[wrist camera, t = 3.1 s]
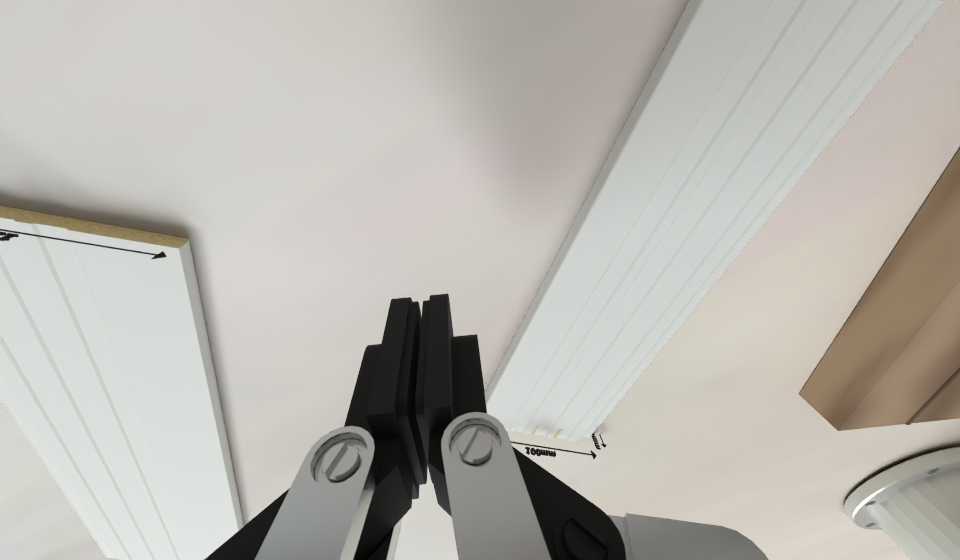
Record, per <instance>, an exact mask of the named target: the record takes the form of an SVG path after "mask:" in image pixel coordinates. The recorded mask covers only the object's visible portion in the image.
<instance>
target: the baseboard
mask: <svg viewBox="0 0 960 560" xmlns="http://www.w3.org/2000/svg"><path fill="white" fill-rule="evenodd" d="M943 2H944V0H689V2H688V4H687V6H686V8H685V9H684V11H683V13H682V15H681V17H680V19H679V21H678V23H677V25H676V27H675V29H674V31H673V33H672V34H671V36H670V38H669V40H668V42H667V44H666V46H665V48H664V50H663V52H662V54H661V56H660V58H659V59H658V61H657V63H656V65H655V67H654V69H653V71H652V73H651V75H650V77H649V79H648V81H647V83H646V84H645V86H644V88H643V90H642V92H641V94H640V96H639V98H638V100H637V102H636V104H635V106H634V108H633V109H632V111H631V113H630V115H629V117H628V119H627V121H626V123H625V125H624V127H623V129H622V131H621V133H620V134H619V136H618V138H617V140H616V142H615V144H614V146H613V148H612V150H611V152H610V154H609V156H608V158H607V159H606V161H605V163H604V165H603V167H602V169H601V171H600V173H599V175H598V177H597V179H596V181H595V183H594V184H593V186H592V188H591V190H590V192H589V194H588V196H587V198H586V200H585V202H584V204H583V206H582V208H581V209H580V211H579V213H578V215H577V217H576V219H575V221H574V223H573V225H572V227H571V229H570V231H569V233H568V234H567V236H566V238H565V240H564V242H563V244H562V246H561V248H560V250H559V252H558V254H557V256H556V258H555V259H554V261H553V263H552V265H551V267H550V269H549V271H548V273H547V275H546V277H545V279H544V281H543V283H542V284H541V286H540V288H539V290H538V292H537V294H536V296H535V298H534V300H533V302H532V304H531V306H530V308H529V309H528V311H527V313H526V315H525V317H524V319H523V321H522V323H521V325H520V327H519V329H518V331H517V333H516V335H515V336H514V338H513V340H512V342H511V344H510V346H509V348H508V350H507V352H506V354H505V356H504V358H503V360H502V361H501V363H500V365H499V367H498V369H497V371H496V373H495V375H494V377H493V379H492V381H491V383H490V385H489V386H488V388H487V390H486V392H485V401H486V409H487V414H489V415H491V416H493V417H495V418H497V419H498V420H499V421H500V422H501V423H502V424H503V426H504V428H505V429H506V431H508V430H511V431H517V432H522V433H523V434H528V435H530V434H535V435H541V436H545V437H547V438H559V439H565V440H567V441H571V442H578V441H579V439H580V438H581V437H590V436H592V438H593V437H596V436H594V435H595V434H593V433H594V431H595V430H596V429H597V428H598V426H599V425H600V424H601V423H602V421H603V420H604V419H605V418H606V417H607V415H608V414H609V413H610V412H611V410H612V409H613V408H614V407H615V405H616V404H617V403H618V402H619V400H620V399H621V398H622V397H623V396H624V394H625V393H626V392H627V391H628V389H629V388H630V387H631V386H632V384H633V383H634V382H635V381H636V380H637V378H638V377H639V376H640V375H641V373H642V372H643V371H644V370H645V368H646V367H647V366H648V365H649V364H650V362H651V361H652V360H653V359H654V357H655V356H656V355H657V354H658V352H659V351H660V350H661V349H662V348H663V346H664V345H665V344H666V343H667V341H668V340H669V339H670V338H671V336H672V335H673V334H674V333H675V332H676V330H677V329H678V328H679V327H680V325H681V324H682V323H683V322H684V320H685V319H686V318H687V317H688V316H689V314H690V313H691V312H692V311H693V309H694V308H695V307H696V306H697V304H698V303H699V302H700V301H701V300H702V298H703V297H704V296H705V295H706V293H707V292H708V291H709V290H710V288H711V287H712V286H713V285H714V284H715V282H716V281H717V280H718V279H719V277H720V276H721V275H722V274H723V272H724V271H725V270H726V269H727V268H728V266H729V265H730V264H731V263H732V261H733V260H734V259H735V258H736V256H737V255H738V254H739V253H740V252H741V250H742V249H743V248H744V247H745V245H746V244H747V243H748V242H749V240H750V239H751V238H752V237H753V236H754V234H755V233H756V232H757V231H758V229H759V228H760V227H761V226H762V224H763V223H764V222H765V221H766V220H767V218H768V217H769V216H770V215H771V213H772V212H773V211H774V210H775V208H776V207H777V206H778V205H779V204H780V202H781V201H782V200H783V199H784V197H785V196H786V195H787V194H788V192H789V191H790V190H791V189H792V188H793V186H794V185H795V184H796V183H797V181H798V180H799V179H800V178H801V176H802V175H803V174H804V173H805V171H806V170H807V169H808V168H809V167H810V165H811V164H812V163H813V162H814V160H815V159H816V158H817V157H818V155H819V154H820V153H821V152H822V151H823V149H824V148H825V147H826V146H827V144H828V143H829V142H830V141H831V139H832V138H833V137H834V136H835V135H836V133H837V132H838V131H839V130H840V128H841V127H842V126H843V125H844V123H845V122H846V121H847V120H848V119H849V117H850V116H851V115H852V114H853V112H854V111H855V110H856V109H857V107H858V106H859V105H860V104H861V103H862V101H863V100H864V99H865V98H866V96H867V95H868V94H869V93H870V91H871V90H872V89H873V88H874V87H875V85H876V84H877V83H878V82H879V80H880V79H881V78H882V77H883V75H884V74H885V73H886V72H887V71H888V69H889V68H890V67H891V66H892V64H893V63H894V62H895V61H896V59H897V58H898V57H899V56H900V55H901V53H902V52H903V51H904V50H905V48H906V47H907V46H908V45H909V43H910V42H911V41H912V40H913V39H914V37H915V36H916V35H917V34H918V32H919V31H920V30H921V29H922V27H923V26H924V25H925V24H926V23H927V21H928V20H929V19H930V18H931V16H932V15H933V14H934V13H935V11H936V10H937V9H938V8H939V7H940V5H941V4H942V3H943ZM600 438H601V435H600ZM594 439H595V440H594ZM601 440H602V438H601ZM593 441H594V443H595V446H596V448H597V449H600V448H598V447H600V446H599V445H596V444H599V443H596V442H598V441H597V438H593ZM510 442H511V441H510ZM511 443H516V444H523V443H517V442H511ZM602 443H603V440H602ZM523 445H529V446H535V447H542V446H536V445H530V444H523ZM601 445H602V446H604V447H606V445H605V444H604V443H603V444H601ZM542 448H548V449H555V448H549V447H542ZM525 449H527V452H526V453H527V454H530V452H529V449H530V448H529V447H525ZM555 450H561V449H555ZM600 450H601V449H600ZM530 451H531V454H532V455H535V454H537V456H540V455H546V456H548V453H549V456H554V457H555V456H556V453H555V451H554V452H553V451H551V453H550V451H548V450H546V452H545V450H542V449H541V451H540V450H539V449H536V451H535V449H534V448H531V450H530ZM533 451H534V453H533ZM561 451H567V452H574V451H568V450H561ZM538 452H539V454H538ZM543 452H544V453H543ZM553 453H554V455H553ZM574 453H580V454H586V455H592V456H593V459H595V457H596V454H594V453H593V452H592V451H591V453H592V454H587V453H581V452H574Z"/></svg>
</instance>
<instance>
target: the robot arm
mask: <svg viewBox="0 0 960 560" xmlns="http://www.w3.org/2000/svg"><path fill="white" fill-rule="evenodd" d="M427 464H428V468H429V472H430V476H431V480H432V483H433V484H434V488H435V493H436V497H437V501H438V504H439V505H440V506H441V507H442V508H443V509H444V510H445V511H446V512H447V513H448V514H449V515H450V516H451V517H452V520H453V527H454V533H455V539H456V546H457V552H458V558H459V560H768V558H767V557H766V555H765V554H764V553H763V552H762V551H761V550H760V549H759V548H758V547H757V546H756V545H755V544H754V543H753V542H752V541H751V540H750V539H748V538H747V537H745V536H744V535H742V534H740V533H739V532H737V531H735V530H732V529H729V528H726V527H723V526H716V525H709V524H701V523H694V522H687V521H679V520H672V519H665V518H657V517H650V516H643V515H635V514H628V513H625V516H624V517H619V516H612V515H606V514H605V513H604V512H603V511H602V510H601V509H600V508H598V507H597V506H595V505H594V504H593V503H591V502H590V501H588V500H587V499H586V498H584V497H583V496H581V495H580V494H579V493H577V492H576V491H574V490H573V489H572V488H570V487H569V486H567V485H566V484H564V483H563V482H562V481H560V480H559V479H557V478H556V477H555V476H553V475H552V474H550V473H549V472H548V471H546V470H545V469H543V468H542V467H541V466H539V465H538V464H536V463H535V462H533V461H532V460H531V459H529V458H528V457H526V456H525V455H524V454H522V453H521V452H519V451H518V450H517V449H515V448H514V447H512V445H511V442H510V439H509V436H508V433H507V431H506V429H505V428H504V426H503V424H502V423H501V422H500V421H499V420H498V419H497V418H495V417H493V416H491V415H489V414H487V409H486V401H485V393H484V385H483V377H482V369H481V362H480V354H479V346H478V338H477V334H476V335H466V336H457V337H454V336H453V328H452V320H451V311H450V303H449V296H448V294H441V295H430V300H428V301H423V309H422V318H421V312H420V307H419V303H418V302H412V299H411V298H410V297H409V298H398V299H392V300H391V303H390V308H389V312H388V317H387V321H386V326H385V331H384V335H383V340H382V344H377V345H368V346H367V347H366V349H365V352H364V356H363V360H362V363H361V367H360V371H359V374H358V378H357V382H356V385H355V389H354V393H353V396H352V400H351V404H350V407H349V411H348V415H347V418H346V422H345V426H344V427H341V428H338V429H336V430H333V431H331V432H329V433H328V434H326V435H325V436H323V437H322V438H320V439H319V440H318V441H317V442H316V443H315V444H314V445H313V446H312V448H311V449H310V451H309V453H308V454H307V456H306V457H305V459H304V461H303V463H302V465H301V467H300V469H299V471H298V473H297V475H296V477H295V479H294V481H293V483H292V485H291V487H290V488H289V489H288V490H287V491H286V492H285V493H283V494H282V495H281V496H280V497H279V498H277V499H276V500H275V501H274V502H273V503H271V504H270V505H269V506H268V507H267V508H265V509H264V510H263V511H262V512H261V513H259V514H258V515H257V516H256V517H255V518H253V519H252V520H251V521H250V522H249V523H247V524H246V525H245V526H244V527H243V528H241V529H240V530H239V531H238V532H237V533H235V534H234V535H233V536H232V537H231V538H229V539H228V540H227V541H226V542H225V543H223V544H222V545H221V546H220V547H219V548H217V549H216V550H215V551H214V552H213V553H211V554H210V555H209V556H208V557H207V558H205V559H204V560H394V556H395V552H396V547H397V542H398V538H399V533H400V529H401V518H402V517H403V516H404V515H405V514H406V513H407V512H408V510H409V509H410V508H411V505H412V499H418V498H419V485H421V484H426V482H427ZM844 513H845V514H846V515H847V516H848V517H849V519H850V520H851V521H852V522H853V523H854V524H855V525H857V526H859V527H862V528H865V529H883V530H884V531H885V532H886V533H887V534H888V535H889V536H890V538H891V539H892V540H893V541H894V542H895V543H896V544H897V545H898V546H899V547H900V548H901V549H902V550H903V551H904V552H905V553H906V555H907V556H908V557H909V558H910V559H911V560H960V447H953V448H948V449H943V450H939V451H935V452H931V453H928V454H924V455H921V456H918V457H916V458H913V459H910V460H907V461H905V462H902V463H900V464H898V465H895V466H893V467H891V468H889V469H887V470H885V471H883V472H881V473H879V474H878V475H876V476H874V477H872V478H871V479H869V480H867V481H866V482H865V483H863V484H862V485H861V486H859V487H858V488H857V489H856V490H855V491H854V492H852V493H851V494H850V496H849V497H848V498H847V500H846V501H845V504H844Z"/></svg>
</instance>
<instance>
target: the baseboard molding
mask: <svg viewBox="0 0 960 560" xmlns="http://www.w3.org/2000/svg"><path fill="white" fill-rule="evenodd" d="M0 399H1V401H2V402H3V404H4V405H5V407H6V408H7V410H8V411H9V413H10V414H11V416H12V417H13V419H14V420H15V422H16V423H17V425H18V426H19V428H20V429H21V431H22V432H23V434H24V435H25V437H26V438H27V439H28V441H29V442H30V444H31V445H32V447H33V448H34V450H35V451H36V453H37V454H38V456H39V457H40V459H41V460H42V462H43V463H44V465H45V466H46V468H47V469H48V471H49V472H50V474H51V475H52V477H53V478H54V480H55V481H56V483H57V484H58V486H59V487H60V489H61V490H62V492H63V493H64V495H65V496H66V498H67V499H68V501H69V502H70V504H71V505H72V507H73V508H74V510H75V511H76V513H77V514H78V516H79V517H80V519H81V520H82V522H83V523H84V525H85V526H86V528H87V529H88V531H89V532H90V534H91V535H92V537H93V538H94V540H95V541H96V543H97V544H98V546H99V547H100V549H101V550H102V551H103V553H104V554H105V556H106V557H107V558H117V559H118V560H204V559H205V558H207V557H208V556H209V555H210V554H211V553H213V552H214V551H215V550H216V549H217V548H219V547H220V546H221V545H222V544H223V543H225V542H226V541H227V540H228V539H229V538H231V537H232V536H233V535H234V534H235V533H237V532H238V531H239V530H240V529H241V528H243V527H244V523H243V518H242V513H241V508H240V502H239V497H238V492H237V487H236V481H235V476H234V471H233V466H232V460H231V455H230V450H229V445H228V440H227V434H226V429H225V424H224V419H223V413H222V408H221V403H220V398H219V393H218V387H217V382H216V377H215V372H214V366H213V361H212V356H211V351H210V346H209V340H208V335H207V330H206V325H205V319H204V314H203V309H202V304H201V299H200V293H199V288H198V283H197V278H196V272H195V267H194V262H193V257H192V252H191V246H190V241H189V239H188V238H183V237H177V236H171V235H166V234H160V233H154V232H148V231H143V230H137V229H131V228H126V227H120V226H114V225H108V224H103V223H97V222H91V221H86V220H80V219H74V218H68V217H63V216H57V215H51V214H46V213H40V212H34V211H28V210H23V209H17V208H11V207H6V206H0Z"/></svg>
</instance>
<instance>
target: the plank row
mask: <svg viewBox="0 0 960 560" xmlns="http://www.w3.org/2000/svg"><path fill="white" fill-rule="evenodd" d="M799 395H800V396H801V397H802V398H803V399H804V400H806V401H807V402H808V403H809V404H810V405H811V406H812V407H813V408H814V409H815V410H816V411H817V412H818V413H820V414H821V415H822V416H823V417H824V418H825V419H826V420H827V421H828V422H829V423H830V424H831V425H832V426H834V427H835V428H836V429H837V430H838V431H841V430H851V429H860V428H870V427H880V426H889V425H899V424H906V425H910V424H911V423H918V422H928V421H938V420H947V419H957V418H960V149H959V150H958V152H957V153H956V155H955V156H954V158H953V159H952V161H951V162H950V164H949V165H948V167H947V168H946V170H945V172H944V173H943V175H942V176H941V178H940V179H939V181H938V182H937V184H936V185H935V187H934V188H933V190H932V191H931V193H930V195H929V196H928V198H927V199H926V201H925V202H924V204H923V205H922V207H921V208H920V210H919V211H918V213H917V214H916V216H915V217H914V219H913V221H912V222H911V224H910V225H909V227H908V228H907V230H906V231H905V233H904V234H903V236H902V237H901V239H900V240H899V242H898V243H897V245H896V247H895V248H894V250H893V251H892V253H891V254H890V256H889V257H888V259H887V260H886V262H885V263H884V265H883V266H882V268H881V269H880V271H879V273H878V274H877V276H876V277H875V279H874V280H873V282H872V283H871V285H870V286H869V288H868V289H867V291H866V292H865V294H864V295H863V297H862V299H861V300H860V302H859V303H858V305H857V306H856V308H855V309H854V311H853V312H852V314H851V315H850V317H849V318H848V320H847V321H846V323H845V325H844V326H843V328H842V329H841V331H840V332H839V334H838V335H837V337H836V338H835V340H834V341H833V343H832V344H831V346H830V347H829V349H828V351H827V352H826V354H825V355H824V357H823V358H822V360H821V361H820V363H819V364H818V366H817V367H816V369H815V370H814V372H813V373H812V375H811V377H810V378H809V380H808V381H807V383H806V384H805V386H804V387H803V389H802V390H801V392H800V393H799Z"/></svg>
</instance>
